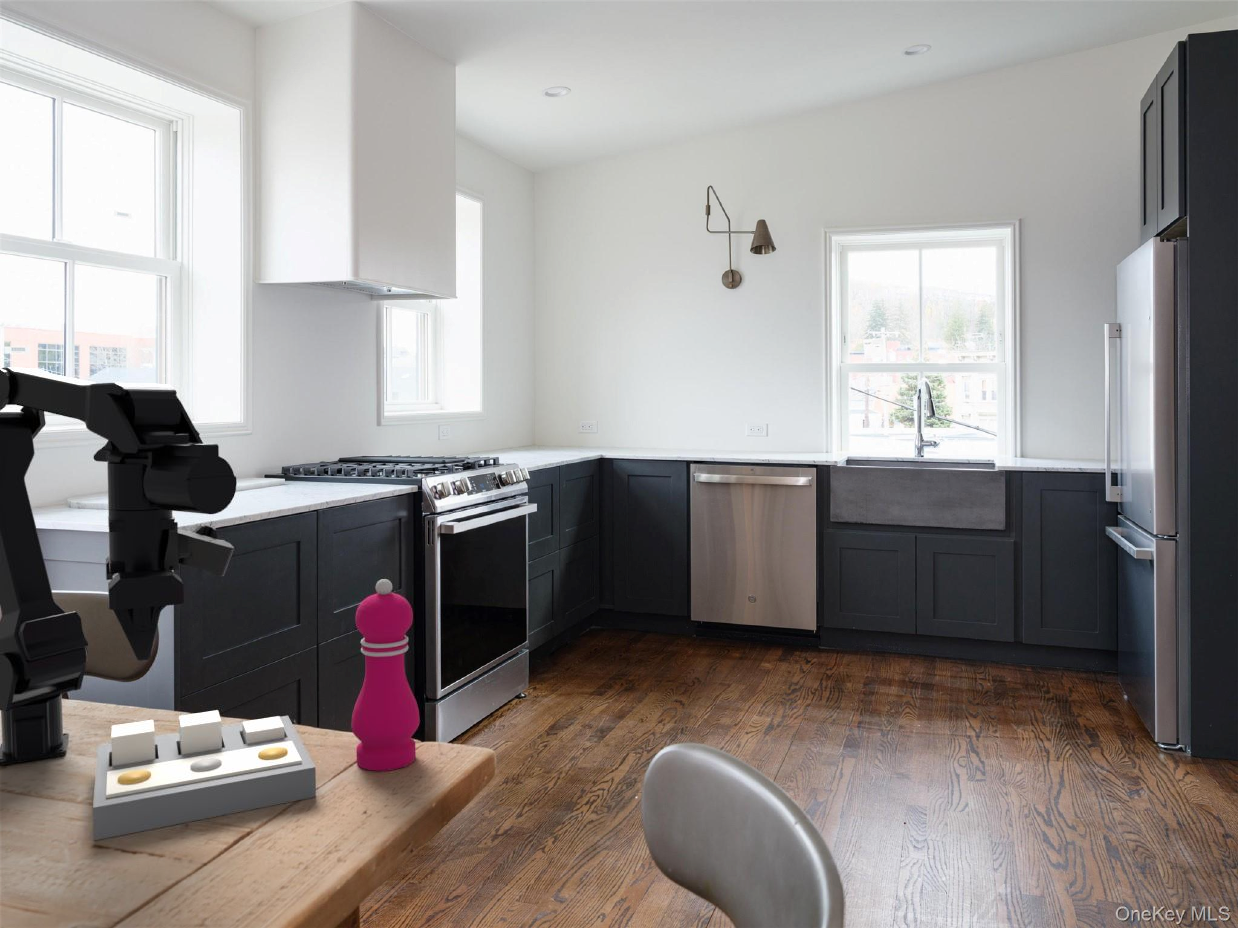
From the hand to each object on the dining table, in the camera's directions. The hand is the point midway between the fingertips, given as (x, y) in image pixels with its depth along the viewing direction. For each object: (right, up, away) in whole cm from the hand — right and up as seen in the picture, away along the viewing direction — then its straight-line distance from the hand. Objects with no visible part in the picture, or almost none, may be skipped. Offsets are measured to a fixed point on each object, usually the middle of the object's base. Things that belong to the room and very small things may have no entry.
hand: (143, 659), depth 92 cm
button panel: (+6, -13, 0) cm, 14 cm away
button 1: (-1, -10, 0) cm, 10 cm away
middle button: (+5, -10, +3) cm, 11 cm away
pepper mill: (+23, -13, +6) cm, 27 cm away
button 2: (+10, -12, +6) cm, 16 cm away
